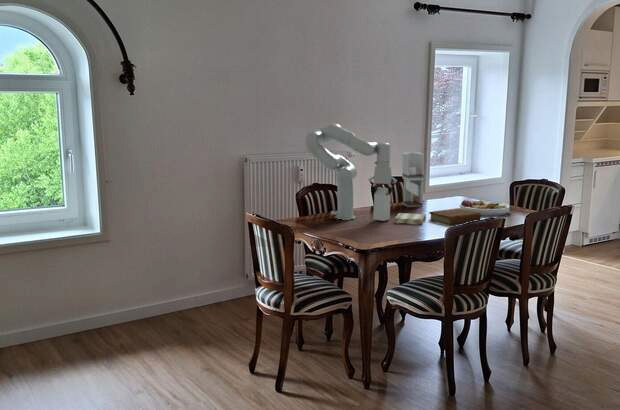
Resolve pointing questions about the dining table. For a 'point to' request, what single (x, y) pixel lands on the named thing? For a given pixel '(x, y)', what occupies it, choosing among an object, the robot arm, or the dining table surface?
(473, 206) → the bowl
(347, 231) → the dining table surface
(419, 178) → the display case
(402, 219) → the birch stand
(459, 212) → the diary
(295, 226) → the dining table surface
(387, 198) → the milk carton
